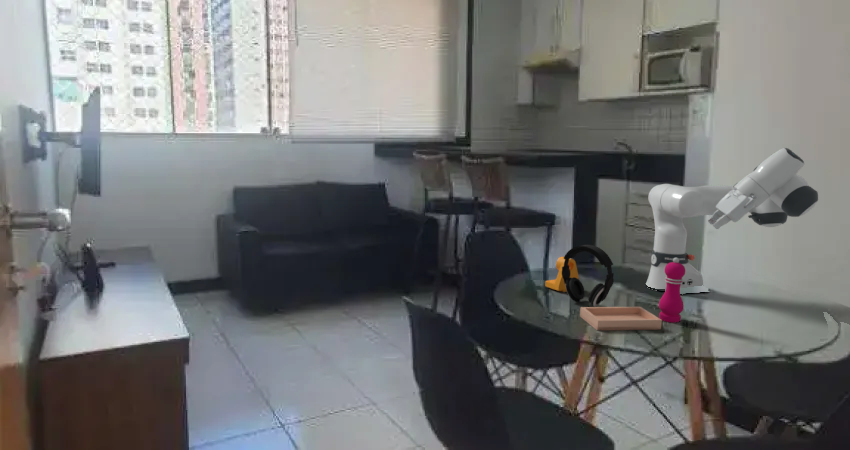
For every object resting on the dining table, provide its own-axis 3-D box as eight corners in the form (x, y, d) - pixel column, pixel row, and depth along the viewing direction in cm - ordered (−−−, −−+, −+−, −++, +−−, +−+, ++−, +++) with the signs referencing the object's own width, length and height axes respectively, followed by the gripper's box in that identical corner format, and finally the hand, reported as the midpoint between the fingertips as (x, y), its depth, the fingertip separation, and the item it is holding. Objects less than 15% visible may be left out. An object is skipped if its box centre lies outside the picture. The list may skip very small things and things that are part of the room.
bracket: (564, 284, 225) (567, 253, 223) (579, 289, 219) (581, 257, 217) (543, 288, 219) (546, 256, 217) (558, 293, 213) (560, 260, 211)
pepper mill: (681, 317, 189) (687, 256, 186) (682, 324, 182) (690, 261, 179) (656, 314, 192) (663, 254, 188) (657, 321, 185) (664, 258, 181)
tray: (639, 315, 190) (640, 306, 189) (660, 329, 177) (661, 319, 177) (579, 316, 187) (580, 307, 186) (597, 330, 174) (598, 320, 174)
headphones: (614, 307, 197) (619, 249, 194) (602, 312, 192) (608, 252, 188) (568, 295, 210) (572, 240, 206) (555, 299, 204) (559, 242, 201)
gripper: (766, 204, 165) (726, 238, 170) (750, 197, 185) (714, 227, 189) (749, 188, 166) (709, 222, 170) (735, 182, 185) (699, 213, 190)
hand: (711, 225), depth 180 cm, fingers open, 8 cm apart
